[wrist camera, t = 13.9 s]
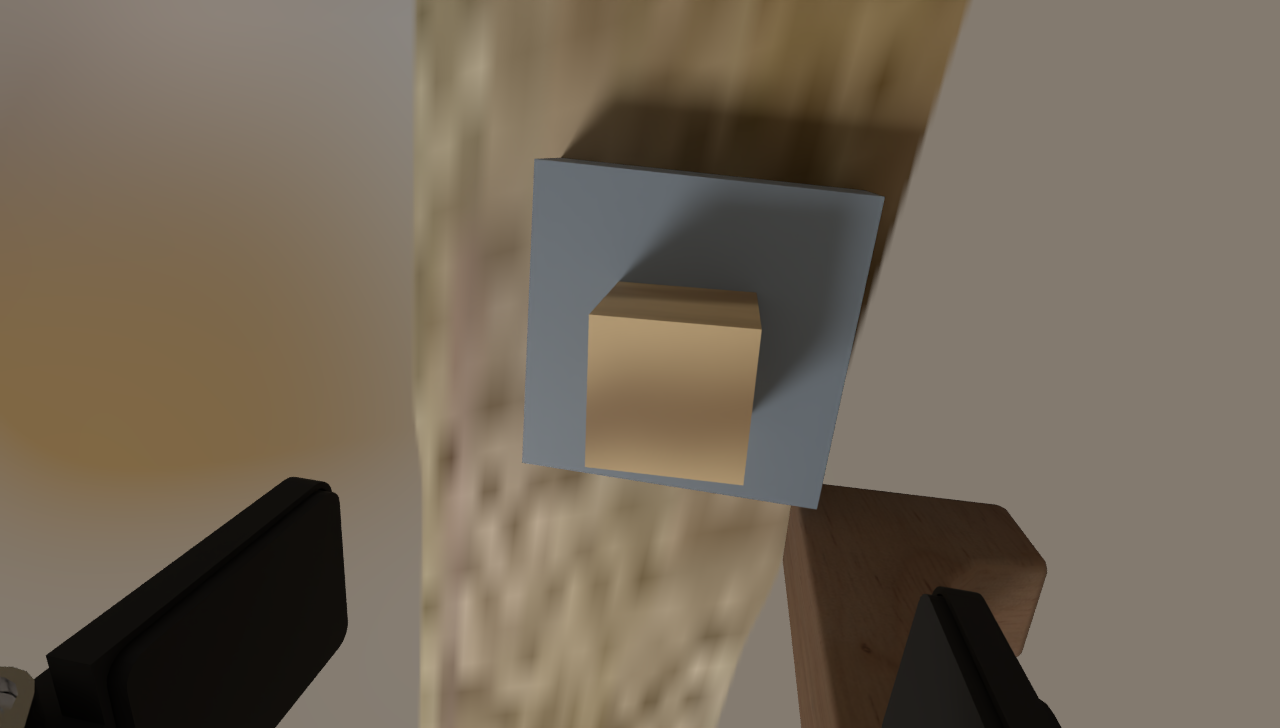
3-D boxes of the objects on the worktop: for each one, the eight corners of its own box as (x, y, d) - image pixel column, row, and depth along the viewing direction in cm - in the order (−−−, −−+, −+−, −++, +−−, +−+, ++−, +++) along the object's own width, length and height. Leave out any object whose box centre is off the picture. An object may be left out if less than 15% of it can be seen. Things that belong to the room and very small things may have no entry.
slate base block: (563, 157, 26) (534, 158, 22) (862, 189, 25) (884, 196, 21) (549, 423, 30) (522, 462, 26) (806, 462, 29) (816, 509, 25)
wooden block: (1005, 502, 28) (1430, 1057, 11) (981, 588, 29) (1321, 1196, 12) (793, 477, 29) (875, 945, 12) (781, 561, 30) (836, 1087, 13)
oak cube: (618, 281, 23) (589, 314, 19) (756, 292, 23) (761, 329, 18) (613, 407, 25) (584, 466, 20) (742, 421, 24) (743, 485, 20)
